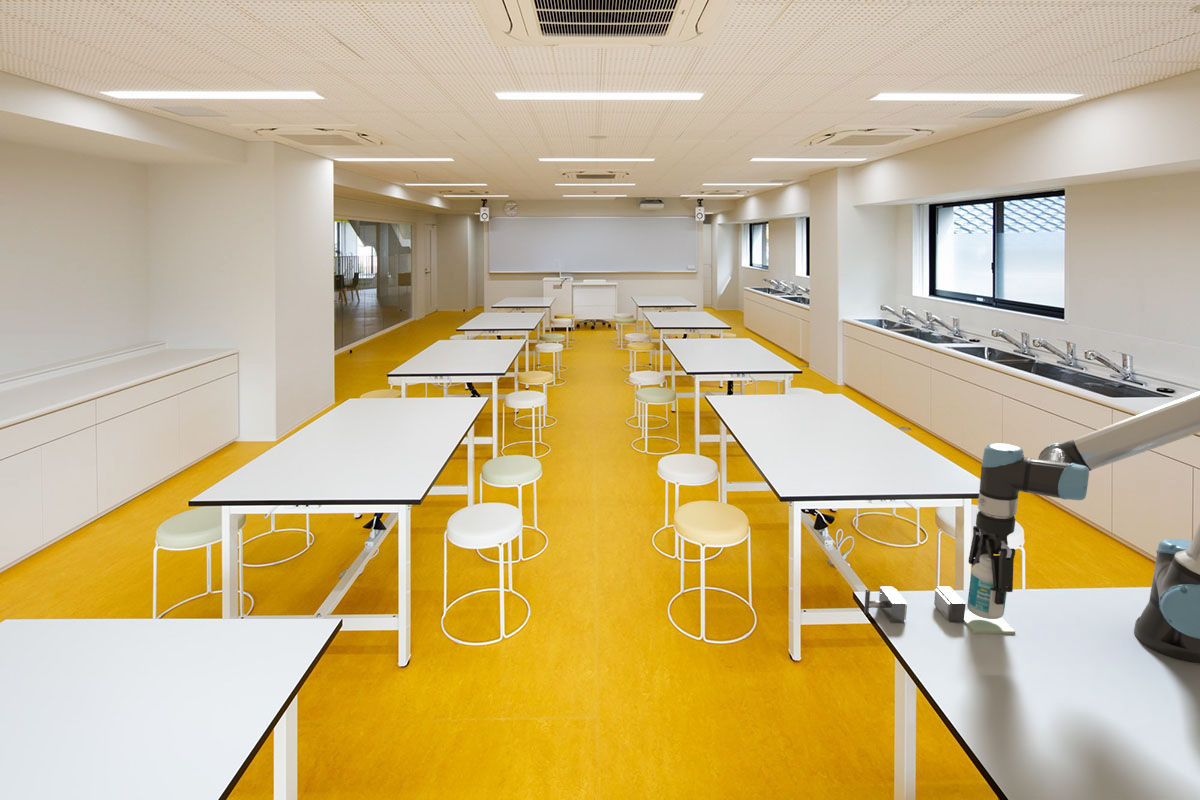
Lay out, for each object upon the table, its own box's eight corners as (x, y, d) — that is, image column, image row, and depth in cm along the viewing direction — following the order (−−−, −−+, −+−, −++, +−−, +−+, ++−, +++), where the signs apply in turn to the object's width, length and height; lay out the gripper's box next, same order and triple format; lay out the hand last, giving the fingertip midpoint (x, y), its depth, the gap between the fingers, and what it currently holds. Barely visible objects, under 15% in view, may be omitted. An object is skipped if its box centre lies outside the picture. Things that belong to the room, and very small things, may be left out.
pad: (994, 612, 162) (994, 610, 162) (1015, 633, 153) (1015, 631, 153) (955, 612, 163) (955, 610, 162) (974, 633, 154) (974, 631, 154)
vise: (947, 609, 166) (950, 582, 165) (963, 626, 158) (966, 599, 157) (858, 609, 167) (860, 582, 166) (869, 626, 159) (871, 599, 158)
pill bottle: (973, 619, 154) (979, 564, 151) (962, 603, 162) (967, 550, 159) (1009, 621, 153) (1016, 566, 150) (996, 605, 160) (1002, 551, 157)
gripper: (957, 496, 162) (949, 584, 167) (1003, 531, 142) (991, 629, 147) (990, 496, 162) (980, 584, 167) (1040, 531, 142) (1027, 630, 147)
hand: (986, 605), depth 157 cm, fingers closed on pill bottle, 7 cm apart
